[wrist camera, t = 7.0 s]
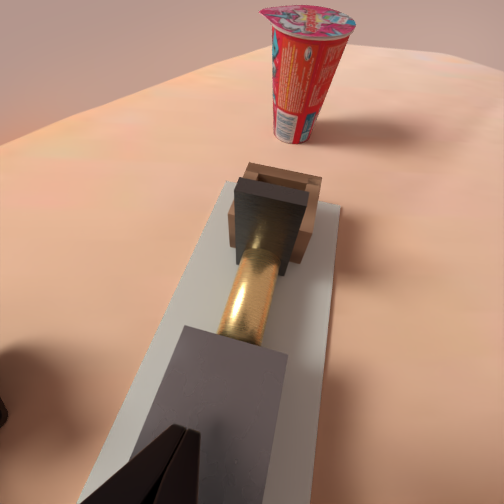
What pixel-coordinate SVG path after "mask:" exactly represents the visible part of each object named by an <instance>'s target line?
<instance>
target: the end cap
mask: <svg viewBox="0 0 504 504" xmlns="http://www.w3.org/2000/svg"><path fill="white" fill-rule="evenodd" d="M7 419H8V411H7V409H6V407H5V405H4V403H3V401H2V400H1V398H0V428H1V427H2V426H3V425H4V424H5V423H6V421H7Z"/></svg>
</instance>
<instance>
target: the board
mask: <svg viewBox="0 0 504 504" xmlns="http://www.w3.org/2000/svg"><path fill="white" fill-rule="evenodd" d="M236 184H237V183H234V182H229V181H226V183H225V185H224V187H223V189H222V191H221V193H220V196H219V198H218V200H217V202H216V204H215V206H214V208H213V211H212V213H211V215H210V217H209V219H208V221H207V224H206V226H205V228H204V230H203V232H202V234H201V236H200V239H199V241H198V243H197V245H196V247H195V249H194V252H193V254H192V256H191V258H190V260H189V262H188V264H187V267H186V269H185V271H184V273H183V275H182V277H181V279H180V282H179V284H178V286H177V288H176V290H175V292H174V295H173V297H172V299H171V301H170V303H169V305H168V307H167V310H166V312H165V314H164V316H163V318H162V320H161V323H160V325H159V327H158V329H157V331H156V333H155V335H154V338H153V340H152V342H151V344H150V346H149V348H148V350H147V353H146V355H145V357H144V359H143V361H142V363H141V366H140V368H139V370H138V372H137V374H136V376H135V378H134V381H133V383H132V385H131V387H130V389H129V391H128V394H127V396H126V398H125V400H124V402H123V404H122V406H121V409H120V411H119V413H118V415H117V417H116V419H115V421H114V424H113V426H112V428H111V430H110V432H109V434H108V437H107V439H106V441H105V443H104V445H103V447H102V449H101V452H100V454H99V456H98V458H97V460H96V462H95V465H94V467H93V469H92V471H91V473H90V475H89V477H88V480H87V482H86V484H85V486H84V488H83V490H82V492H81V495H80V497H79V499H78V501H77V503H76V504H80V503H81V502H82V501H83V500H84V499H86V498H87V497H88V496H89V495H90V494H91V493H93V492H94V491H95V490H96V489H97V488H98V487H100V486H101V485H102V484H103V483H104V482H105V481H107V480H108V479H109V478H110V477H111V476H112V475H113V474H115V473H116V472H117V471H118V470H119V469H120V468H122V467H123V466H124V465H125V464H126V463H127V462H128V461H129V459H130V457H131V454H132V452H133V449H134V447H135V444H136V442H137V440H138V437H139V435H140V432H141V430H142V427H143V425H144V422H145V420H146V418H147V415H148V413H149V410H150V408H151V405H152V403H153V401H154V398H155V396H156V393H157V391H158V388H159V386H160V384H161V381H162V379H163V376H164V374H165V371H166V369H167V366H168V364H169V362H170V359H171V357H172V354H173V352H174V349H175V347H176V345H177V342H178V340H179V337H180V335H181V332H182V330H183V328H184V325H186V326H190V327H193V328H197V329H200V330H204V331H208V332H211V333H215V334H216V332H217V329H218V326H219V323H220V320H221V317H222V314H223V311H224V308H225V305H226V302H227V299H228V296H229V293H230V290H231V287H232V284H233V282H234V279H235V276H236V273H237V270H238V267H239V265H236V248H232V247H230V243H229V228H228V212H229V209H230V207H231V204H232V202H233V200H234V189H235V186H236ZM339 216H340V205H335V204H331V203H326V202H321V201H318V204H317V210H316V216H315V222H314V228H313V234H312V236H311V239H310V241H309V243H308V246H307V248H306V251H305V253H304V256H303V258H302V261H301V263H300V264H297V263H293V262H289V263H288V266H287V269H286V273H285V276H280V275H278V277H277V281H276V285H275V289H274V294H273V298H272V302H271V306H270V310H269V315H268V319H267V323H266V327H265V332H264V336H263V340H262V344H261V347H264V348H267V349H271V350H274V351H278V352H281V353H285V354H288V360H287V366H286V371H285V377H284V383H283V388H282V394H281V400H280V405H279V411H278V417H277V422H276V428H275V434H274V439H273V445H272V451H271V456H270V462H269V468H268V473H267V479H266V485H265V490H264V496H263V502H262V504H310V498H311V489H312V479H313V469H314V459H315V450H316V440H317V430H318V420H319V411H320V401H321V391H322V381H323V372H324V362H325V352H326V342H327V333H328V323H329V313H330V303H331V294H332V284H333V274H334V264H335V255H336V245H337V235H338V225H339Z"/></svg>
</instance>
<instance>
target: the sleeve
mask: <svg viewBox="0 0 504 504" xmlns="http://www.w3.org/2000/svg"><path fill="white" fill-rule="evenodd" d="M287 360H288V354H285V353H281V352H278V351H274V350H271V349H267V348H264V347H260V346H257V345H253V344H250V343H246V342H243V341H239V340H236V339H232V338H229V337H225V336H222V335H218V334H215V333H211V332H208V331H204V330H200V329H197V328H193V327H190V326H186V325H184V328H183V330H182V332H181V335H180V337H179V340H178V342H177V345H176V347H175V349H174V352H173V354H172V357H171V359H170V362H169V364H168V366H167V369H166V371H165V374H164V376H163V379H162V381H161V384H160V386H159V388H158V391H157V393H156V396H155V398H154V401H153V403H152V405H151V408H150V410H149V413H148V415H147V418H146V420H145V422H144V425H143V427H142V430H141V432H140V435H139V437H138V440H137V442H136V444H135V447H134V449H133V452H132V454H131V457H130V459H129V461H130V460H131V459H132V458H133V457H134V456H136V455H137V454H138V453H139V452H140V451H141V450H143V449H144V448H145V447H146V446H147V445H148V444H149V443H151V442H152V441H153V440H154V439H155V438H156V437H158V436H159V435H160V434H161V433H162V432H163V431H165V430H166V429H167V428H168V427H169V426H170V425H172V424H174V423H175V424H179V425H182V426H185V427H186V429H188V428H191V429H194V430H197V431H200V433H201V446H200V468H199V489H198V504H262V502H263V496H264V490H265V485H266V479H267V473H268V468H269V462H270V456H271V451H272V445H273V439H274V434H275V428H276V422H277V417H278V411H279V405H280V400H281V394H282V388H283V383H284V377H285V371H286V366H287ZM129 461H128V462H129Z"/></svg>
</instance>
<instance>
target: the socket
mask: <svg viewBox="0 0 504 504" xmlns="http://www.w3.org/2000/svg"><path fill="white" fill-rule="evenodd" d="M243 178H246V179H251V180H256V181H260V182H265V183H270V184H275V185H279V186H284V187H289V188H293V189H298V190H303V191H307V192H310V193H309V198H308V203H307V207H306V210H305V214H304V217H303V220H302V223H301V226H300V229H299V232H298V235H297V238H296V242H295V245H294V248H293V251H292V254H291V257H290V260H289V262H293V263H297V264H300V263H301V261H302V258H303V256H304V253H305V251H306V248H307V246H308V243H309V241H310V239H311V236H312V234H313V228H314V222H315V216H316V210H317V204H318V198H319V193H320V187H321V181H322V177H318V176H313V175H308V174H303V173H298V172H293V171H289V170H284V169H279V168H274V167H269V166H264V165H260V164H255V163H250V162H249V164H248V166H247V169H246V171H245V173H244V176H243ZM228 228H229V243H230V247H232V248H236V244H235V212H234V200H233V202H232V204H231V207H230V209H229V212H228Z"/></svg>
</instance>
